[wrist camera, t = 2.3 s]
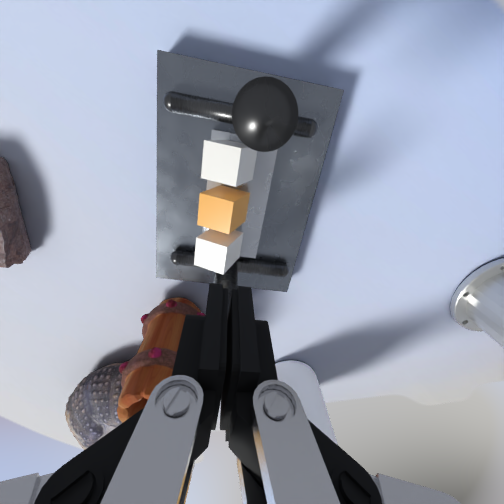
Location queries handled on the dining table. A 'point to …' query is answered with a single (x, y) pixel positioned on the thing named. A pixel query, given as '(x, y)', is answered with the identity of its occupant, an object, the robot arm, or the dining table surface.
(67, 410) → the sea urchin shell
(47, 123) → the dining table surface
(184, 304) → the mug
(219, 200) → the block
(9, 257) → the stone
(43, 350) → the dining table surface
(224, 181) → the white tilted cube
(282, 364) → the wine bottle
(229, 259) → the white leaning block
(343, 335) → the dining table surface
